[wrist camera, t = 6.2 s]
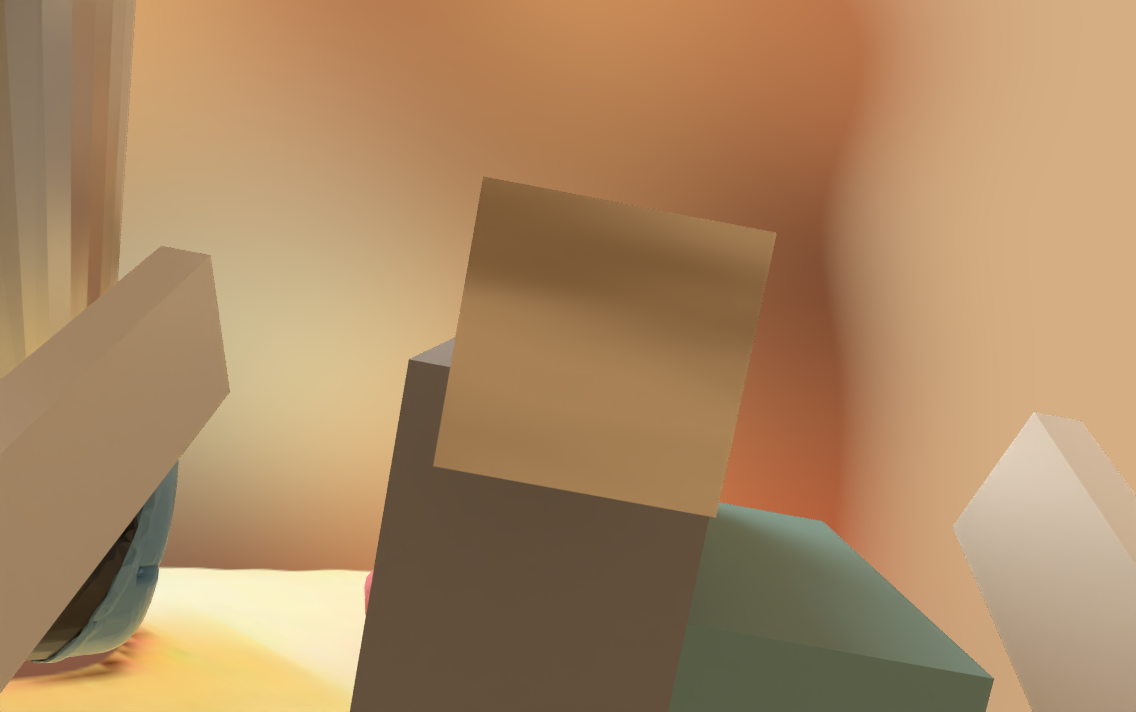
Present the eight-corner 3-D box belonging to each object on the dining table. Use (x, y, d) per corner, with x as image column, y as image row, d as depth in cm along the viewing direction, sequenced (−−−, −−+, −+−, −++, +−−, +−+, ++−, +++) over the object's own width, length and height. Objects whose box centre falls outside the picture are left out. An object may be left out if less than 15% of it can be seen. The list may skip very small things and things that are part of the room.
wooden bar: (786, 531, 10) (865, 172, 10) (361, 453, 10) (421, 86, 10) (633, 360, 33) (655, 251, 33) (503, 336, 33) (523, 225, 32)
